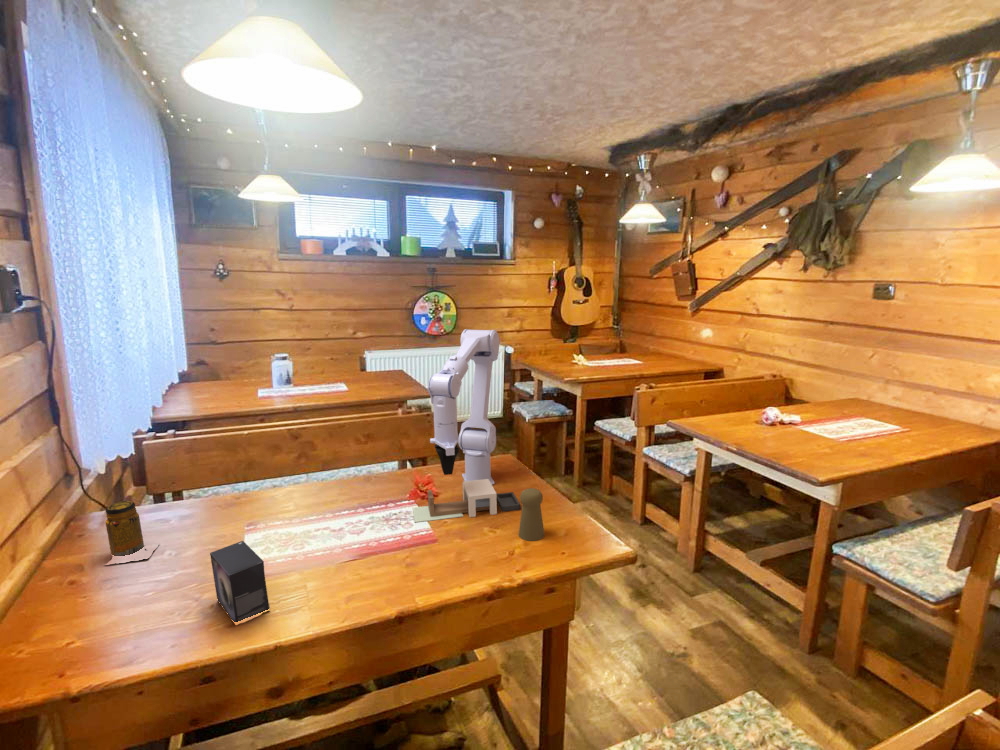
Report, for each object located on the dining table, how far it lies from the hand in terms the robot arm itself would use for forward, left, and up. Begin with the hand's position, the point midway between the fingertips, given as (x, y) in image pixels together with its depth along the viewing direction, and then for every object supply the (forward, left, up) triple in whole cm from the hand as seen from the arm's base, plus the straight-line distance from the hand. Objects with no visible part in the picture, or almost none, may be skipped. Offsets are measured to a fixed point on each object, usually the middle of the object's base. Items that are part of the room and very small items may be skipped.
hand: (447, 473), depth 136 cm
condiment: (+3, -71, -11) cm, 72 cm away
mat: (0, -3, -10) cm, 11 cm away
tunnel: (0, +8, -10) cm, 13 cm away
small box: (+29, -43, -11) cm, 53 cm away
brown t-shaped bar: (0, +3, -10) cm, 11 cm away
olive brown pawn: (+17, +17, -11) cm, 26 cm away
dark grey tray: (0, +16, -10) cm, 19 cm away
